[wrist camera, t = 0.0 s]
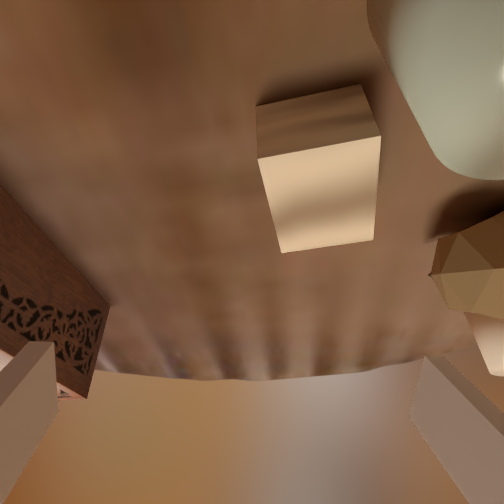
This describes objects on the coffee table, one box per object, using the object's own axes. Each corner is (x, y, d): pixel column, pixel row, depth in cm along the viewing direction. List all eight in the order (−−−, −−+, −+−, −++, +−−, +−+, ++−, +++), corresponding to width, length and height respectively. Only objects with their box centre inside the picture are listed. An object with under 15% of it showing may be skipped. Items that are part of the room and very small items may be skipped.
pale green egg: (418, -178, 13) (556, -149, 7) (618, -134, 13) (876, -79, 8) (343, 58, 19) (384, 169, 13) (482, 76, 20) (574, 188, 14)
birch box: (255, 104, 21) (257, 158, 18) (360, 82, 20) (381, 135, 17) (277, 200, 27) (281, 253, 24) (358, 187, 26) (373, 239, 23)
